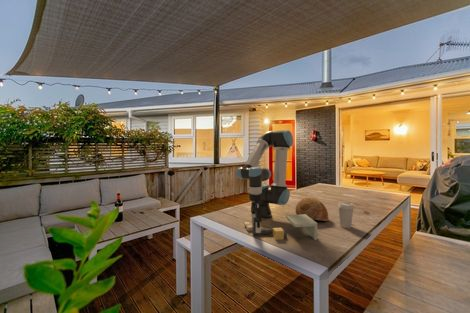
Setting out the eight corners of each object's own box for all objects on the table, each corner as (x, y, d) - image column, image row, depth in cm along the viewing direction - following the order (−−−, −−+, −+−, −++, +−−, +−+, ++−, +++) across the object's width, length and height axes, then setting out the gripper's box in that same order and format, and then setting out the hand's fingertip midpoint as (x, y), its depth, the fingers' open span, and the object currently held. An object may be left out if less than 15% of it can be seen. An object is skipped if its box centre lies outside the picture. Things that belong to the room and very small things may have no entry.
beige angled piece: (285, 230, 143) (285, 215, 142) (305, 228, 144) (305, 214, 143) (295, 241, 127) (295, 224, 126) (317, 239, 128) (317, 223, 128)
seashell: (312, 210, 176) (315, 192, 172) (331, 224, 158) (335, 205, 153) (289, 213, 168) (292, 195, 164) (307, 229, 150) (310, 208, 146)
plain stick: (244, 226, 151) (243, 222, 151) (248, 225, 152) (248, 221, 151) (248, 232, 141) (248, 227, 141) (252, 231, 142) (252, 227, 142)
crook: (252, 233, 138) (252, 217, 137) (281, 231, 140) (281, 216, 139) (255, 240, 128) (255, 223, 128) (286, 238, 130) (286, 221, 130)
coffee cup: (357, 228, 143) (357, 205, 142) (343, 229, 141) (343, 206, 140) (347, 223, 152) (347, 201, 151) (334, 224, 151) (334, 202, 150)
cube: (272, 236, 134) (272, 228, 134) (281, 235, 135) (281, 227, 134) (275, 239, 129) (275, 231, 129) (283, 239, 130) (283, 230, 129)
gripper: (246, 189, 147) (246, 221, 148) (253, 198, 122) (253, 237, 123) (257, 188, 147) (257, 220, 149) (266, 198, 123) (267, 236, 124)
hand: (255, 228), depth 136 cm, fingers open, 13 cm apart
